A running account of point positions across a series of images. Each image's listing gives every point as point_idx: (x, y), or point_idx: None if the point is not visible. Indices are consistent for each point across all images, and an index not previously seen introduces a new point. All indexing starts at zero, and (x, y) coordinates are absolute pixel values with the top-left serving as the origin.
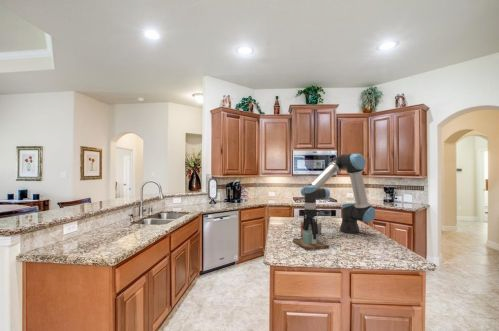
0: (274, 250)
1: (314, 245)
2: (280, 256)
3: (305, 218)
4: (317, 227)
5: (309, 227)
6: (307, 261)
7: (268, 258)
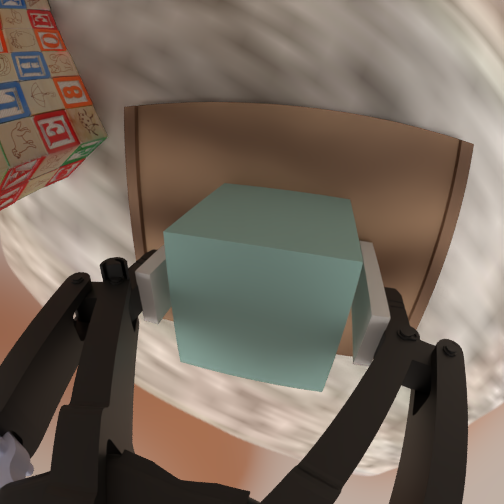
0: (287, 443)
1: (382, 269)
2: (369, 454)
3: (22, 445)
4: (466, 434)
5: (7, 135)
6: (485, 409)
7: (357, 474)
